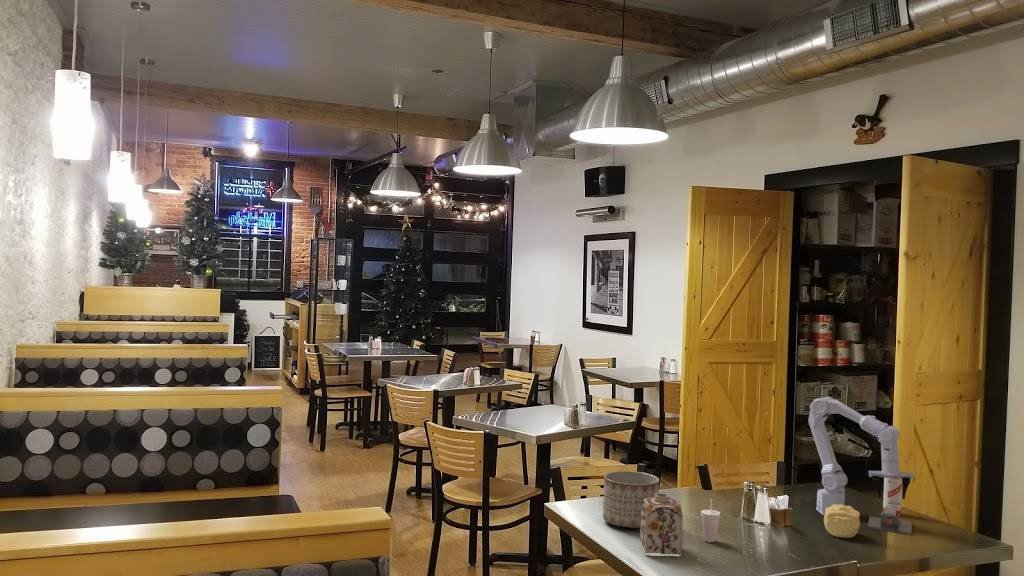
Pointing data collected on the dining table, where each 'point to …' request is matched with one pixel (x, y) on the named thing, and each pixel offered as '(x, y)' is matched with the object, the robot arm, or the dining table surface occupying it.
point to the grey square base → (889, 524)
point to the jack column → (890, 510)
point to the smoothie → (710, 523)
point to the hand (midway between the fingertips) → (891, 497)
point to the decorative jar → (661, 525)
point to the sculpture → (842, 521)
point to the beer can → (892, 493)
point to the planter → (627, 496)
